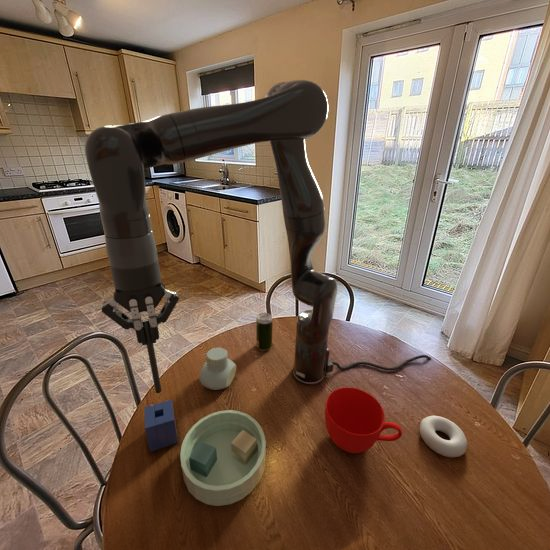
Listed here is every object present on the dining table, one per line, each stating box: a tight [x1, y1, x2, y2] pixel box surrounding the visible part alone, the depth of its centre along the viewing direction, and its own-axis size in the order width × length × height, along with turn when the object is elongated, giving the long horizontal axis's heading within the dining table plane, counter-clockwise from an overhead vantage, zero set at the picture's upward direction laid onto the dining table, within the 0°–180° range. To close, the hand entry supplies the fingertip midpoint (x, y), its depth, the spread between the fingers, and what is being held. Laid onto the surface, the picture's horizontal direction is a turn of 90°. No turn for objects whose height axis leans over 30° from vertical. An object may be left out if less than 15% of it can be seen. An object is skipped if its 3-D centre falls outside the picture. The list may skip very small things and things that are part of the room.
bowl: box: [179, 409, 267, 507], centre depth 63 cm, size 18×18×6 cm
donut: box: [419, 415, 468, 458], centre depth 69 cm, size 10×4×10 cm
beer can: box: [255, 312, 274, 352], centre depth 98 cm, size 5×5×12 cm
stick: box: [142, 318, 163, 394], centre depth 58 cm, size 1×1×18 cm
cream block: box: [231, 430, 257, 465], centre depth 64 cm, size 4×4×4 cm
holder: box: [143, 399, 179, 453], centre depth 67 cm, size 6×6×8 cm
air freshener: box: [198, 347, 237, 391], centre depth 83 cm, size 11×8×10 cm
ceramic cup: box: [324, 386, 403, 454], centre depth 67 cm, size 13×17×10 cm
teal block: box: [189, 441, 217, 477], centre depth 62 cm, size 4×4×4 cm
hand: (149, 341), depth 57 cm, fingers closed on stick, 1 cm apart
